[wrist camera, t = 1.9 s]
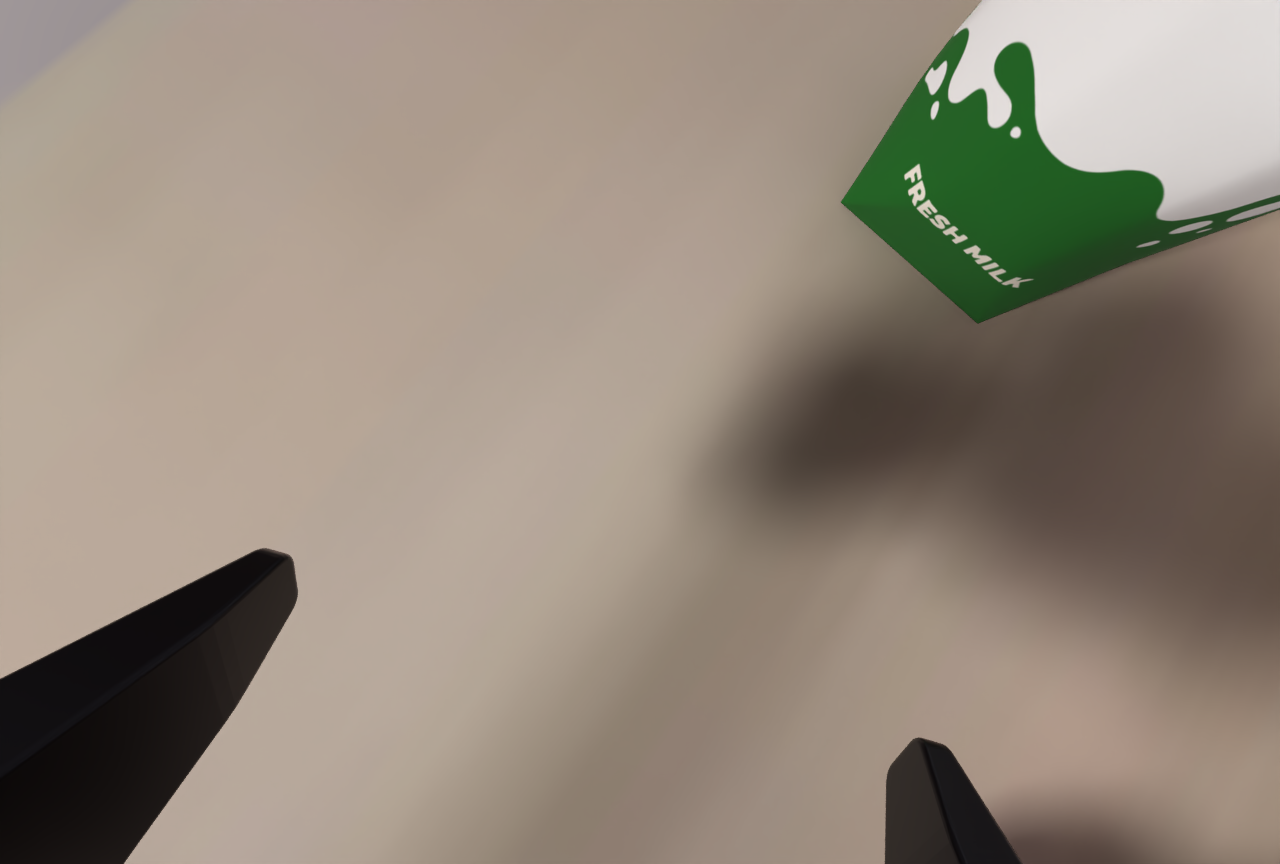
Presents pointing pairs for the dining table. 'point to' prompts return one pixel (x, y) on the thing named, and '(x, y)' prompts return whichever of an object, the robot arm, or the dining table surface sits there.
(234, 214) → the dining table surface
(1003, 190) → the milk carton
